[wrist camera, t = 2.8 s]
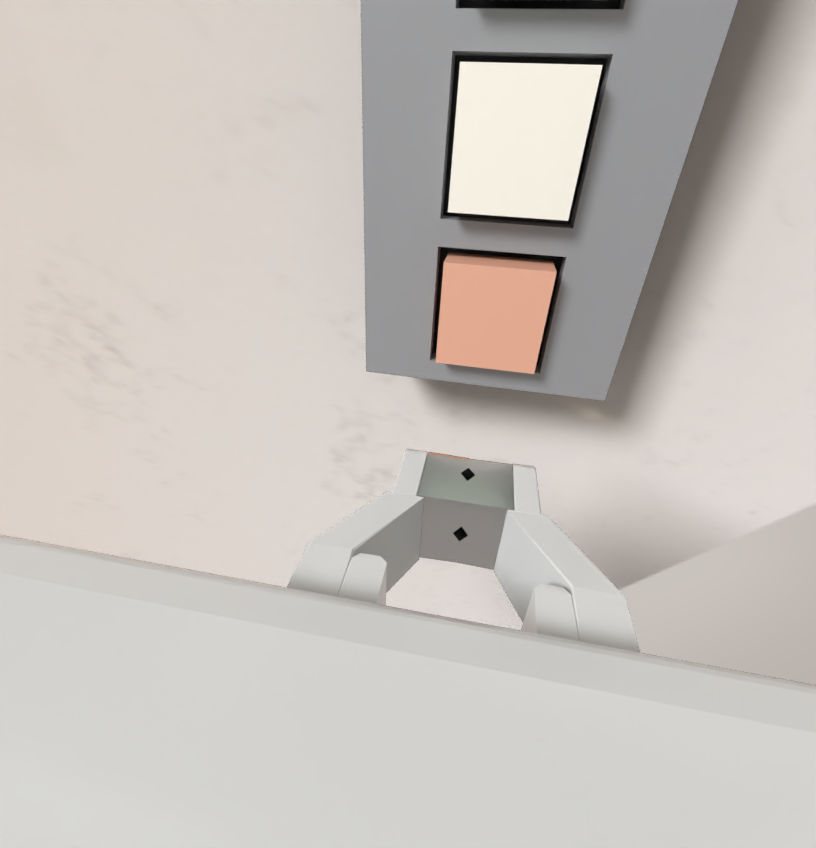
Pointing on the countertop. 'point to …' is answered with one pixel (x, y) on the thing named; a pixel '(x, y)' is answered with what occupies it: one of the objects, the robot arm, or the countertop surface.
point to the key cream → (520, 137)
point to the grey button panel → (514, 236)
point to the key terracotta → (493, 311)
